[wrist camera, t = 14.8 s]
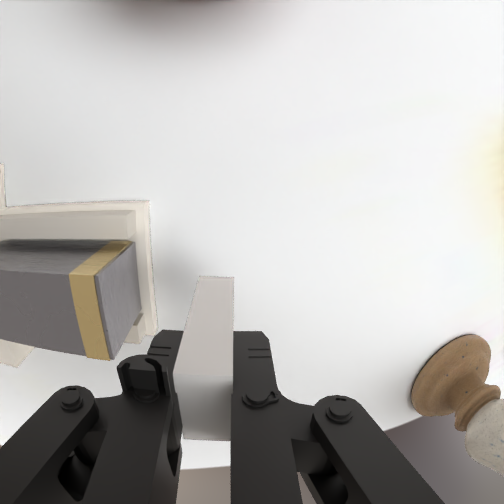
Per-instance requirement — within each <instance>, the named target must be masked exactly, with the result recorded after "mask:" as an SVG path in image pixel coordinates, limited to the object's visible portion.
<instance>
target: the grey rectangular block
mask: <svg viewBox="0 0 504 504" xmlns="http://www.w3.org/2000/svg"><path fill="white" fill-rule="evenodd" d="M141 309H142V307H141V298H140V289H139V280H138V269H137V257H136V244H135V242H132V241H1V242H0V339H2V340H6V341H11V342H15V343H19V344H24V345H28V346H33V347H38V348H43V349H48V350H53V351H59V352H64V353H70V354H77V355H83V356H87V358H93V359H100V360H108V361H110V360H111V359H112V360H114V359H115V357H116V355H117V353H118V351H119V350H120V348H121V346H122V344H123V342H124V340H125V338H126V337H127V335H128V333H129V331H130V329H131V327H132V326H133V324H134V322H135V320H136V318H137V317H138V315H139V313H140V311H141Z"/></svg>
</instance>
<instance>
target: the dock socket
mask: <svg viewBox="0 0 504 504" xmlns="http://www.w3.org/2000/svg"><path fill="white" fill-rule="evenodd" d="M1 241H132V242H135V244H136V257H137V269H138V280H139V289H140V298H141V307H142V309H141V311H140V313H139V315H138V317H137V318H136V320H135V322H134V324H133V326H132V327H131V329H130V331H129V333H128V335H127V337H126V338H125V340H124V342H123V343H134V344H140V343H141V341H142V339H143V337H144V335H149V336H155V334H156V331H157V329H158V323H157V314H156V304H155V294H154V283H153V270H152V256H151V239H150V215H149V201H109V202H81V203H60V204H42V205H26V206H12V207H6V201H5V186H4V163H3V164H0V242H1ZM34 348H35V347H33V346H28V345H24V344H19V343H15V342H11V341H6V340H2V339H0V363H2V364H5V365H9V366H12V367H16V368H18V366H19V365H20V364H21V363H22V362H23V360H24V359H25V358H26V357H27V356H28V354H29V353H30V352H31V351H32V350H33V349H34Z"/></svg>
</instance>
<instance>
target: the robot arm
mask: <svg viewBox="0 0 504 504" xmlns="http://www.w3.org/2000/svg"><path fill="white" fill-rule="evenodd" d="M233 312H234V277H208V276H199V279H198V283H197V286H196V289H195V293H194V296H193V300H192V303H191V307H190V311H189V314H188V318H187V321H186V325H185V329H184V331H176V330H162V331H161V332H159V333H158V334H157V335H156V336H155V337H154V338H153V340H152V343H151V345H150V348H149V350H148V353H147V355H135V356H132V357H128V358H126V359H125V360H123V361H121V362H120V364H119V365H118V366H117V371H118V375H119V379H120V383H121V386H122V390H123V392H122V394H121V395H118V396H113V397H105V398H94V396H93V394H92V393H91V391H90V390H88V389H86V388H85V387H81V386H67V387H64V388H61V389H60V390H58V391H57V392H55V393H54V394H53V395H52V396H51V397H50V398H49V399H48V400H47V401H46V402H45V403H44V404H43V405H42V406H41V407H40V408H39V409H38V410H37V411H36V412H35V413H34V414H33V415H32V416H31V417H30V418H29V419H28V420H27V421H26V422H25V423H24V424H23V425H22V426H21V427H20V428H19V429H18V431H17V432H16V433H15V434H14V435H13V436H12V437H11V438H10V439H9V440H8V441H7V442H6V443H5V444H4V445H3V446H2V447H1V448H0V504H176V498H177V489H178V481H179V473H180V466H181V458H182V448H181V443H180V441H181V434H182V433H183V438H184V439H193V440H212V441H231V504H303V503H302V498H301V492H300V487H299V481H298V475H297V472H300V474H301V476H302V478H303V479H304V481H305V483H306V485H307V487H308V489H309V491H310V492H311V494H312V496H313V498H314V500H315V501H316V503H317V504H445V503H444V502H443V501H442V500H441V499H440V498H439V496H438V495H437V494H436V493H435V492H434V491H433V489H432V488H431V487H430V486H429V485H428V484H427V483H426V481H425V480H424V479H423V478H422V477H421V475H420V474H419V473H418V472H417V471H416V470H415V468H414V467H413V466H412V465H411V464H410V463H409V461H408V460H407V459H406V458H405V457H404V455H403V454H402V453H401V452H400V451H399V450H398V448H397V447H396V446H395V445H394V444H393V443H392V441H391V440H390V439H389V438H388V437H387V436H386V434H385V433H384V432H383V431H382V429H381V428H380V427H379V426H378V425H377V423H376V422H375V421H374V420H373V419H372V417H371V416H370V415H369V414H368V413H367V411H366V410H365V409H364V408H363V407H362V406H361V405H360V404H359V403H358V402H357V401H356V400H354V399H352V398H349V397H347V396H340V395H334V396H327V397H325V398H323V399H320V400H319V401H318V402H317V403H316V404H315V406H311V405H305V404H299V403H296V402H293V401H291V400H289V399H287V398H285V397H284V396H283V395H282V394H281V392H280V391H279V390H278V387H277V384H276V378H275V372H274V366H273V361H272V355H271V350H270V343H269V339H268V338H267V337H266V336H265V335H264V334H263V332H262V331H233Z"/></svg>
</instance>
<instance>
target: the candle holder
mask: <svg viewBox="0 0 504 504" xmlns="http://www.w3.org/2000/svg"><path fill="white" fill-rule="evenodd" d="M490 358H491V350H490V347H489V345H488V343H487V342H486V341H485V340H484V339H483V338H481V337H480V336H477V335H465V336H462V337H459V338H457V339H455V340H453V341H452V342H450V343H448V344H447V345H446V346H444V347H443V348H442V349H440V350H439V351H438V352H437V353H436V354H435V355H434V356H433V357H432V358H431V359H430V360H429V361H428V362H427V364H426V365H425V366H424V367H423V369H422V370H421V372H420V373H419V375H418V377H417V379H416V380H415V383H414V385H413V389H412V393H411V400H412V404H413V406H414V408H415V410H416V411H417V412H418V413H419V414H421V415H423V416H443V415H448V414H451V413H453V412H454V413H455V428H456V429H457V430H458V431H466V436H465V448H466V451H467V453H468V455H469V456H470V457H471V458H472V459H473V460H475V461H476V462H478V463H479V464H481V465H483V466H486V467H488V468H490V469H492V470H494V471H496V472H497V473H499V474H500V475H501V476H502V477H504V399H500V394H501V392H500V388H499V387H498V386H496V385H488V384H485V383H484V382H485V380H486V378H487V376H488V372H489V363H490Z"/></svg>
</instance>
